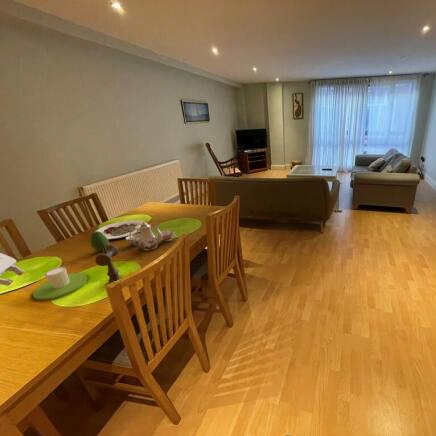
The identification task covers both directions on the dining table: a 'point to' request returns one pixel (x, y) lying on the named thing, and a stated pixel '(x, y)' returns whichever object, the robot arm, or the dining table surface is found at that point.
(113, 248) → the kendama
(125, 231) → the plated food
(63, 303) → the dining table surface
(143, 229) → the chinaware
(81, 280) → the placemat
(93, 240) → the avocado
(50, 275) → the shot glass
